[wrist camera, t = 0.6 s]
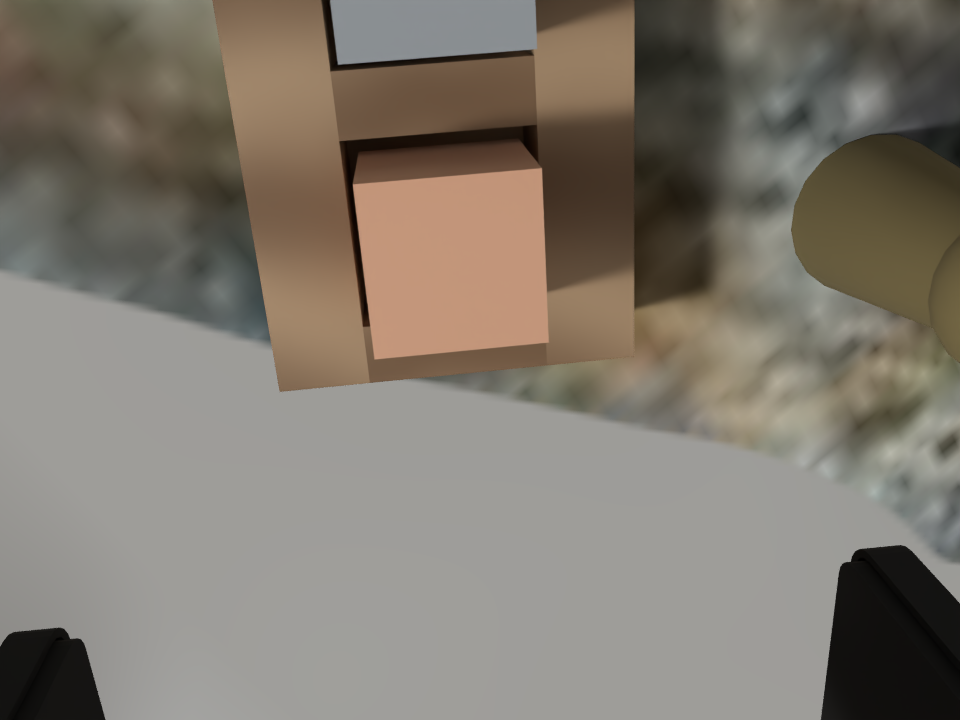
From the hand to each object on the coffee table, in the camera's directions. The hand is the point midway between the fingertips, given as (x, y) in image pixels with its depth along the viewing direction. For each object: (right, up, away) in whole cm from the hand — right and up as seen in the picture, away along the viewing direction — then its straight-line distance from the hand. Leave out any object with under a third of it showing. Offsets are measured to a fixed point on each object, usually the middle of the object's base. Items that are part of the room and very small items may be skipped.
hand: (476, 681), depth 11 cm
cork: (+15, +9, +23) cm, 29 cm away
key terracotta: (-1, +8, +18) cm, 20 cm away
